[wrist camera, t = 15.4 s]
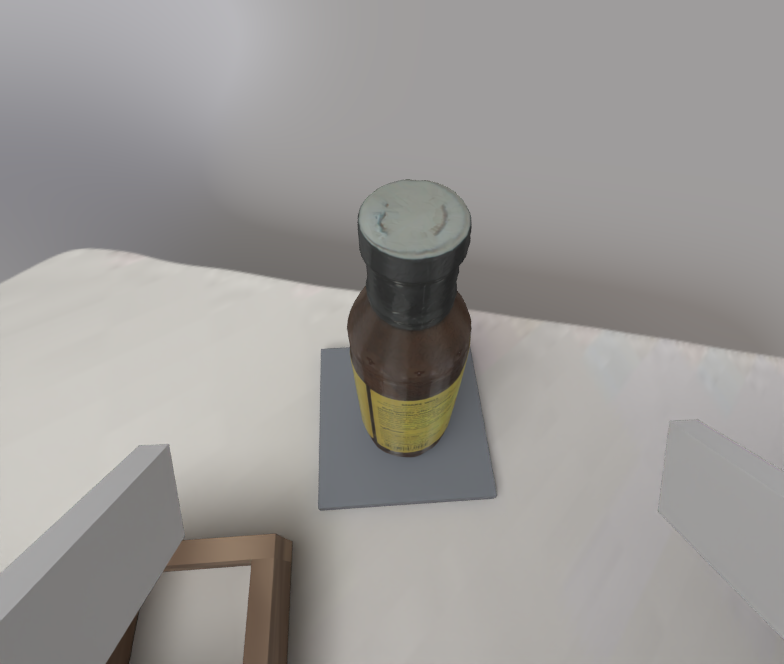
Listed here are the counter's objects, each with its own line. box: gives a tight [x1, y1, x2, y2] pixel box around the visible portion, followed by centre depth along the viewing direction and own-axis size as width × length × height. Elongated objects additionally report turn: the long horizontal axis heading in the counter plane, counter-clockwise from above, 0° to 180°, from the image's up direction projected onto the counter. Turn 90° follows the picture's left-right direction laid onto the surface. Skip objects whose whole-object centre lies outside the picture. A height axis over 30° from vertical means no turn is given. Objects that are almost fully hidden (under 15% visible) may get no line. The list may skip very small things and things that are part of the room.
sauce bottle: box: [347, 179, 471, 457], centre depth 23 cm, size 6×6×20 cm
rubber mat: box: [318, 347, 497, 511], centre depth 32 cm, size 12×12×1 cm
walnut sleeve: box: [106, 534, 292, 664], centre depth 24 cm, size 10×10×5 cm
